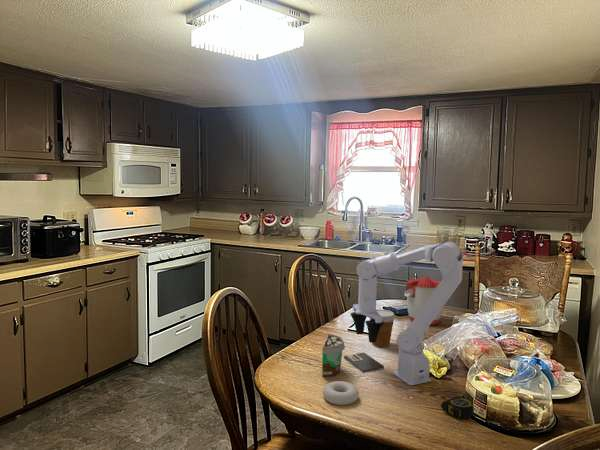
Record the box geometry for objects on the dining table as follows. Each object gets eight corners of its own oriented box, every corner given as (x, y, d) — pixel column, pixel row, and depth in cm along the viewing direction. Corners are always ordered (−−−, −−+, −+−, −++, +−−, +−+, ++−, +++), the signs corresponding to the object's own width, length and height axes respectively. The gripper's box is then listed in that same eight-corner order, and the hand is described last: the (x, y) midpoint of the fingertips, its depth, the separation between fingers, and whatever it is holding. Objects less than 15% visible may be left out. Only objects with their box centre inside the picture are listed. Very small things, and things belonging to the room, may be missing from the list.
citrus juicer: (395, 317, 199) (397, 272, 196) (429, 314, 204) (431, 271, 202) (414, 329, 184) (416, 281, 182) (450, 325, 189) (453, 278, 187)
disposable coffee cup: (366, 347, 163) (367, 315, 162) (368, 338, 172) (370, 308, 171) (393, 350, 161) (394, 317, 159) (394, 341, 170) (395, 310, 168)
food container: (341, 381, 136) (342, 349, 135) (321, 378, 137) (322, 347, 136) (345, 364, 148) (346, 335, 147) (327, 362, 149) (328, 333, 148)
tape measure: (457, 405, 123) (458, 392, 122) (479, 417, 117) (480, 403, 117) (440, 412, 119) (440, 398, 119) (461, 424, 113) (462, 410, 113)
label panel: (383, 368, 146) (383, 365, 145) (362, 372, 142) (362, 368, 142) (363, 354, 156) (364, 351, 156) (343, 358, 153) (343, 354, 153)
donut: (365, 398, 127) (335, 386, 133) (365, 386, 126) (336, 375, 132) (345, 412, 119) (315, 399, 125) (346, 399, 118) (315, 387, 125)
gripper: (345, 292, 150) (344, 332, 151) (369, 304, 137) (367, 347, 138) (363, 290, 153) (362, 329, 154) (388, 301, 139) (386, 344, 141)
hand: (366, 337), depth 146 cm, fingers open, 7 cm apart
